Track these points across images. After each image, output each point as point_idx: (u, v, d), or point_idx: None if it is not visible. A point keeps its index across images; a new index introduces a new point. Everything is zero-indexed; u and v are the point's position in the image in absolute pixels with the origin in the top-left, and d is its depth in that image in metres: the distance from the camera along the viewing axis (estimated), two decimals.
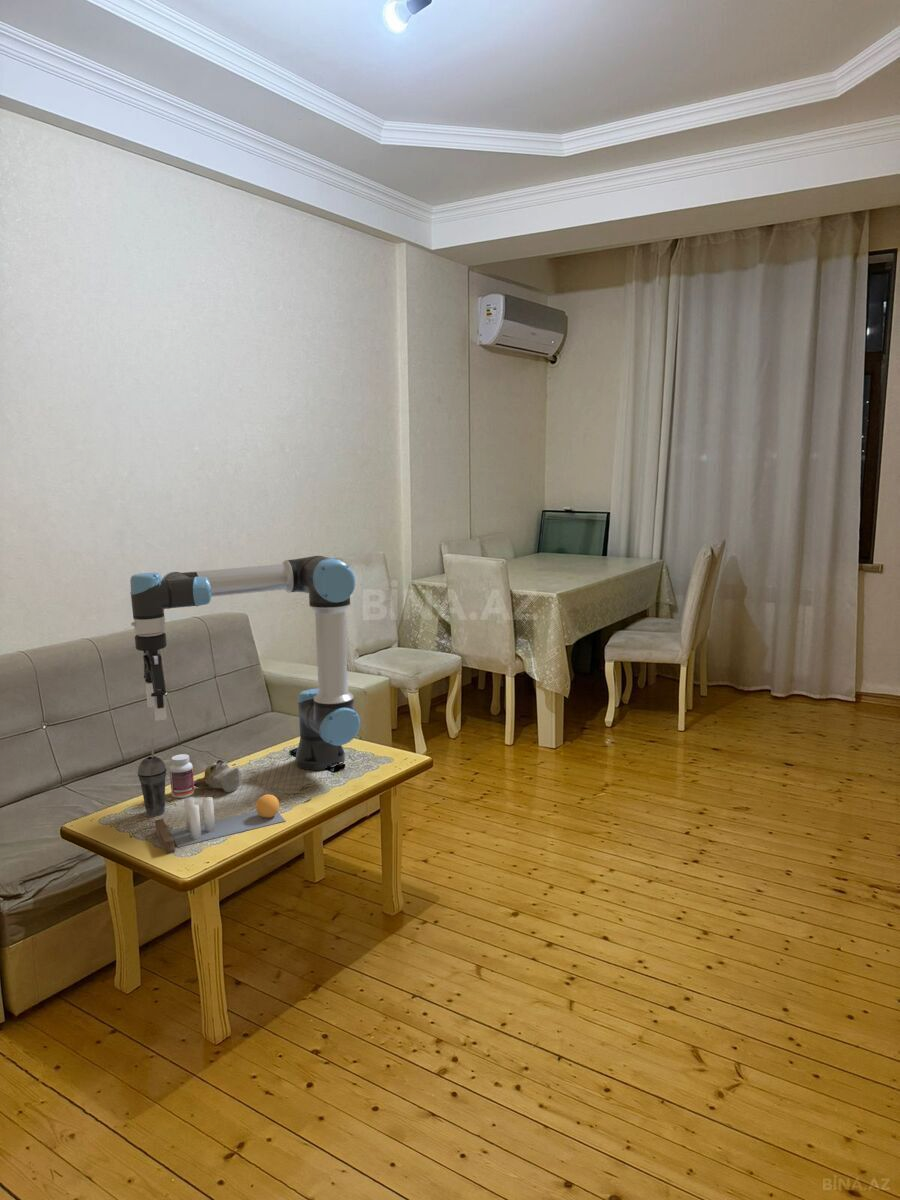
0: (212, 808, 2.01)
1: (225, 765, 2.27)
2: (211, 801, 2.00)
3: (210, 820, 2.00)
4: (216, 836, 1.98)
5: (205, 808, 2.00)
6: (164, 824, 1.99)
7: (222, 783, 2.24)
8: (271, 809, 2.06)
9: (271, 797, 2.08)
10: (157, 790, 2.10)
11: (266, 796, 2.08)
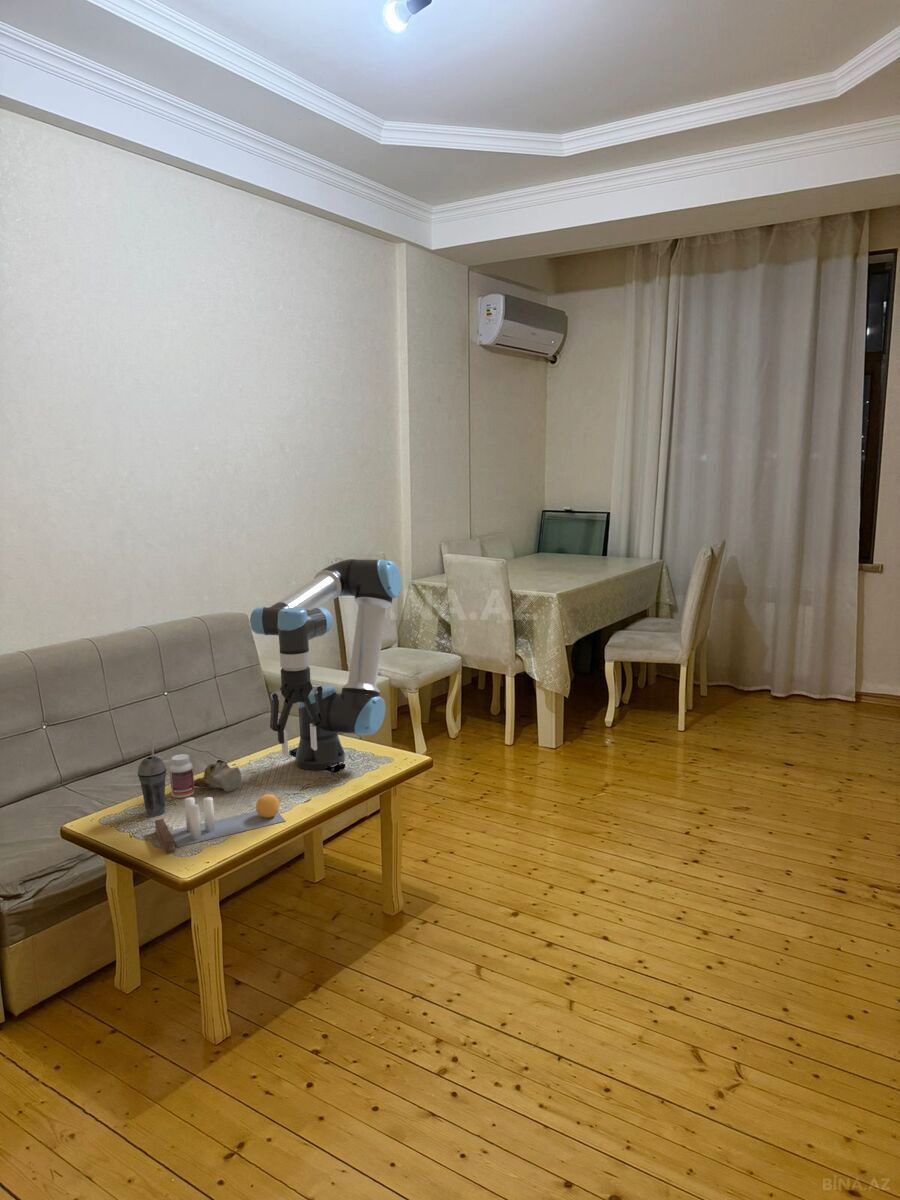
0: (212, 808, 2.01)
1: (225, 764, 2.28)
2: (211, 801, 2.00)
3: (210, 820, 2.00)
4: (216, 836, 1.98)
5: (205, 808, 2.00)
6: (164, 824, 1.99)
7: (222, 783, 2.24)
8: (271, 809, 2.06)
9: (271, 797, 2.08)
10: (157, 790, 2.10)
11: (266, 796, 2.08)
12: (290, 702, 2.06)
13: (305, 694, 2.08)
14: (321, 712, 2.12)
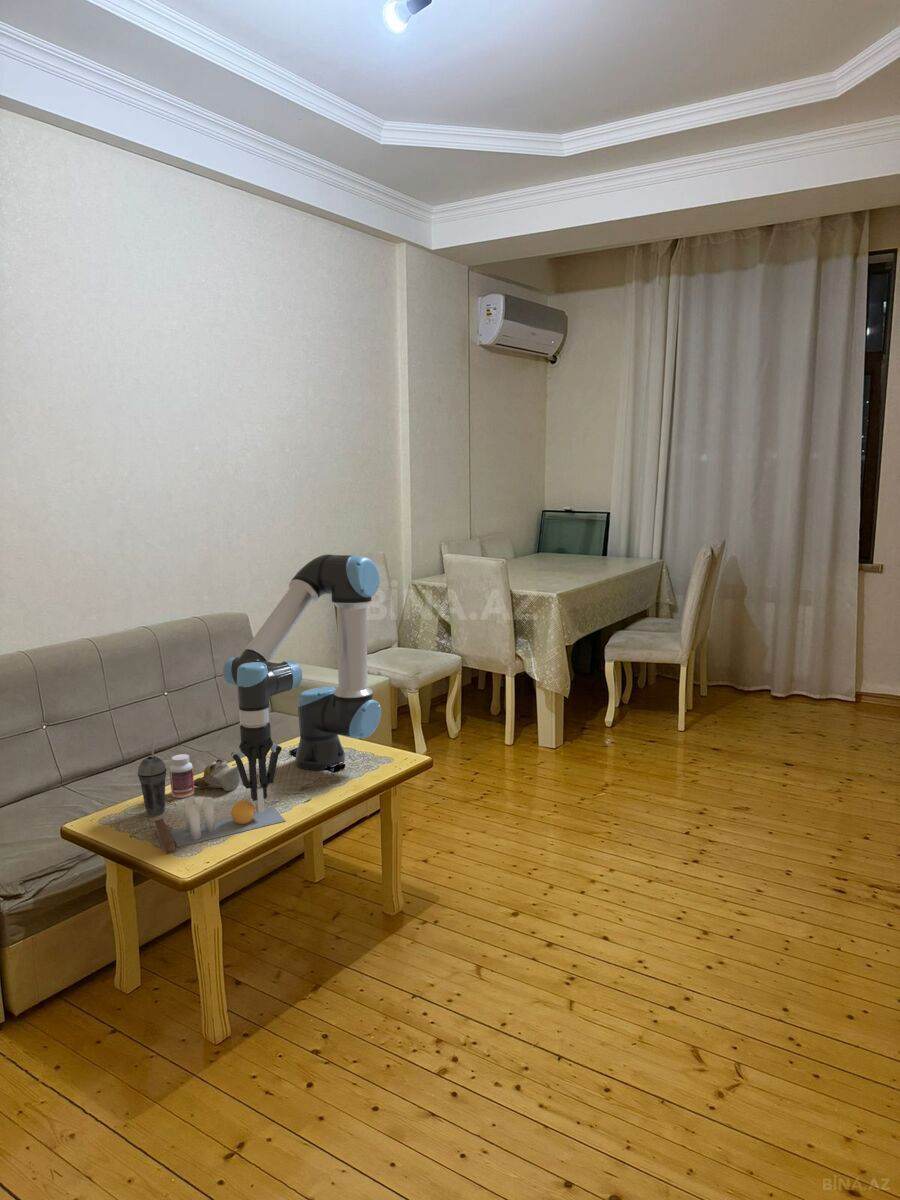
0: (212, 808, 2.01)
1: (225, 764, 2.28)
2: (211, 801, 2.00)
3: (210, 820, 2.00)
4: (216, 836, 1.98)
5: (205, 808, 2.00)
6: (164, 824, 1.99)
7: (222, 782, 2.24)
8: (245, 816, 2.03)
9: (233, 817, 2.03)
10: (157, 790, 2.10)
11: (233, 820, 2.04)
12: (253, 759, 2.03)
13: (264, 751, 2.04)
14: (271, 772, 2.07)
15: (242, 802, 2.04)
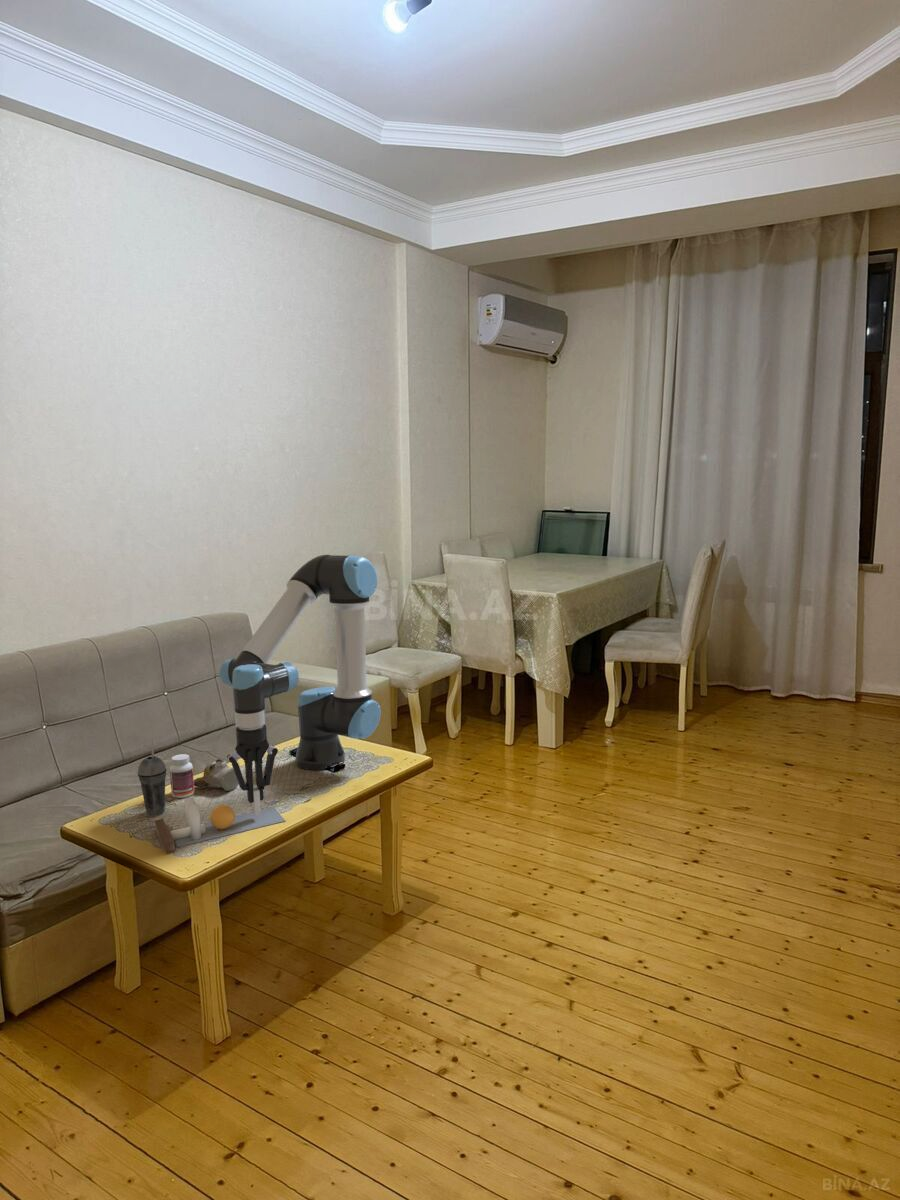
0: (179, 832, 1.97)
1: (224, 764, 2.28)
2: None
3: None
4: (216, 836, 1.98)
5: (178, 838, 1.97)
6: (164, 824, 1.99)
7: (222, 782, 2.24)
8: (225, 822, 2.00)
9: (226, 828, 2.02)
10: (157, 790, 2.10)
11: None
12: (249, 762, 2.03)
13: (260, 753, 2.04)
14: (268, 774, 2.06)
15: (211, 822, 2.01)
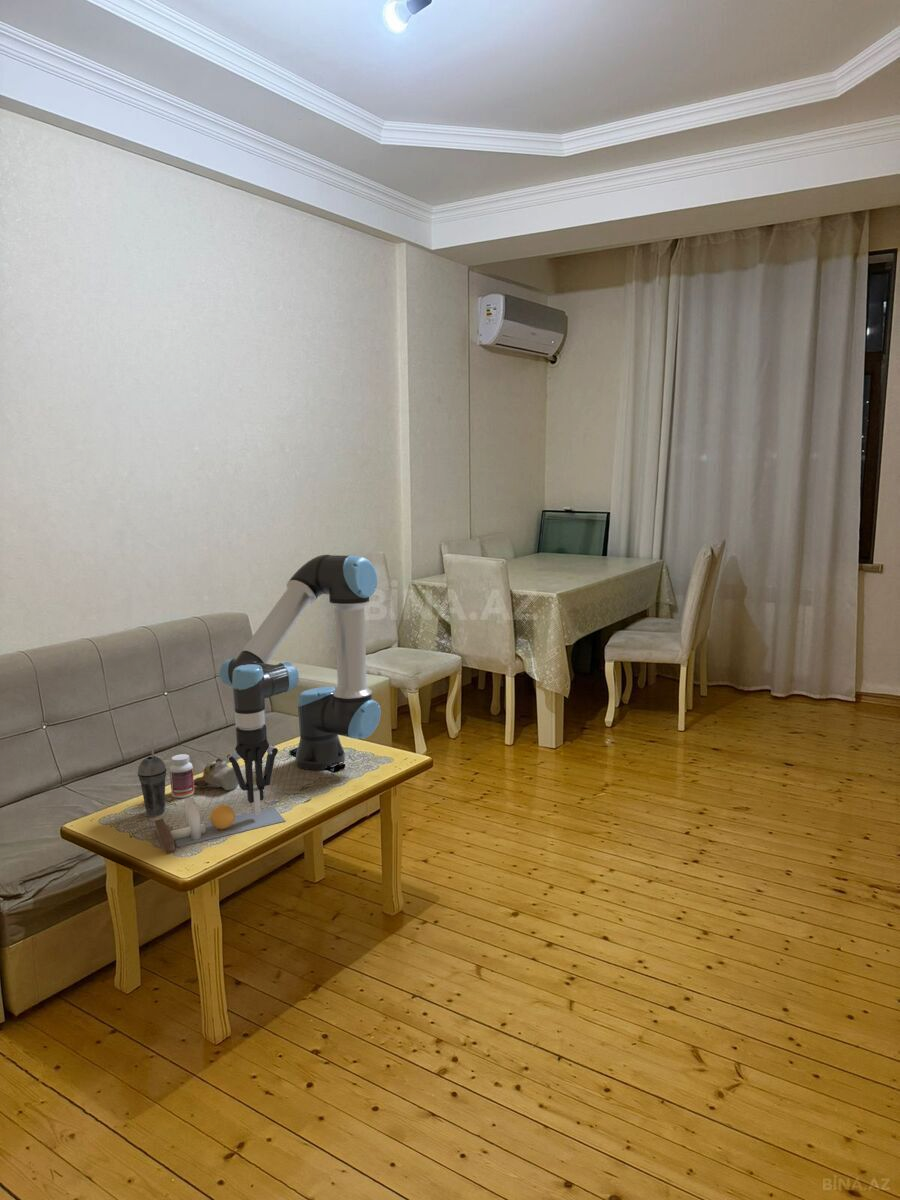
0: (179, 832, 1.97)
1: (224, 763, 2.29)
2: None
3: None
4: (216, 836, 1.98)
5: (178, 838, 1.97)
6: (164, 824, 1.99)
7: (222, 781, 2.25)
8: (225, 822, 2.00)
9: (226, 828, 2.02)
10: (157, 790, 2.10)
11: None
12: (249, 762, 2.03)
13: (260, 753, 2.04)
14: (268, 774, 2.06)
15: (211, 822, 2.01)
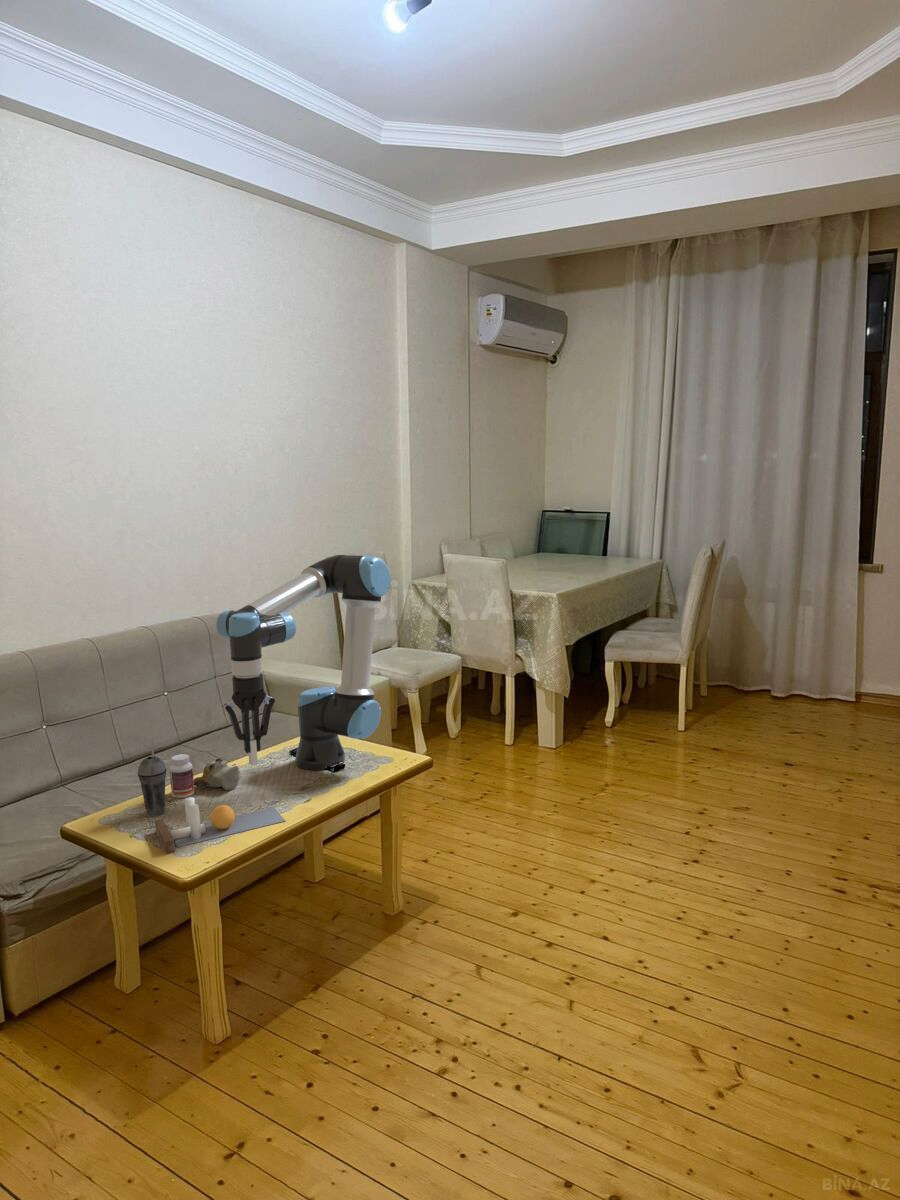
0: (179, 832, 1.97)
1: (224, 763, 2.29)
2: None
3: None
4: (216, 836, 1.98)
5: (178, 838, 1.98)
6: (164, 824, 1.99)
7: (222, 781, 2.25)
8: (225, 822, 2.00)
9: (226, 828, 2.02)
10: (157, 790, 2.10)
11: None
12: (245, 711, 2.01)
13: (257, 703, 2.02)
14: (265, 724, 2.04)
15: (211, 822, 2.01)
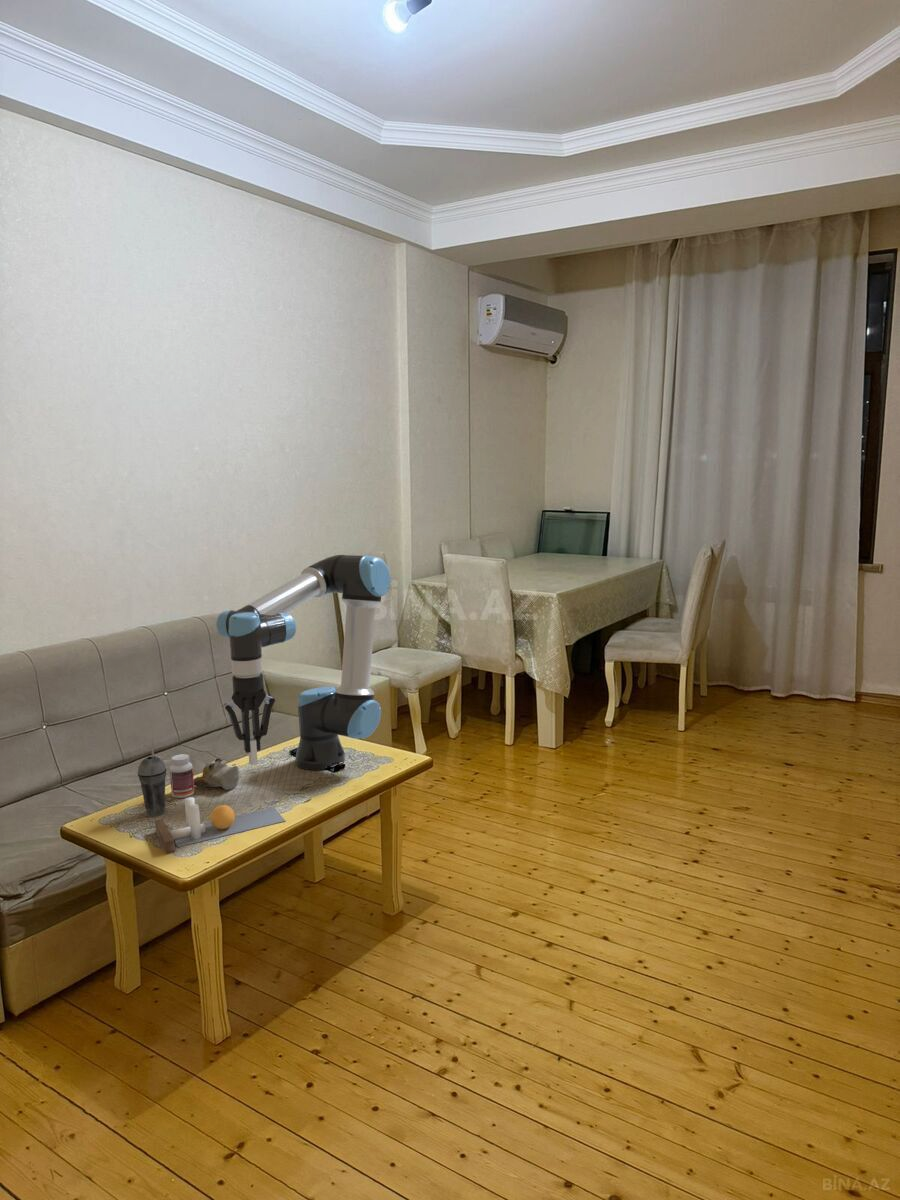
0: (179, 831, 1.97)
1: (224, 763, 2.29)
2: (171, 834, 1.96)
3: None
4: (216, 836, 1.98)
5: (178, 838, 1.98)
6: (164, 824, 1.99)
7: (221, 781, 2.25)
8: (225, 822, 2.00)
9: (226, 828, 2.02)
10: (157, 790, 2.10)
11: None
12: (245, 710, 2.01)
13: (257, 702, 2.02)
14: (265, 724, 2.04)
15: (211, 822, 2.01)
